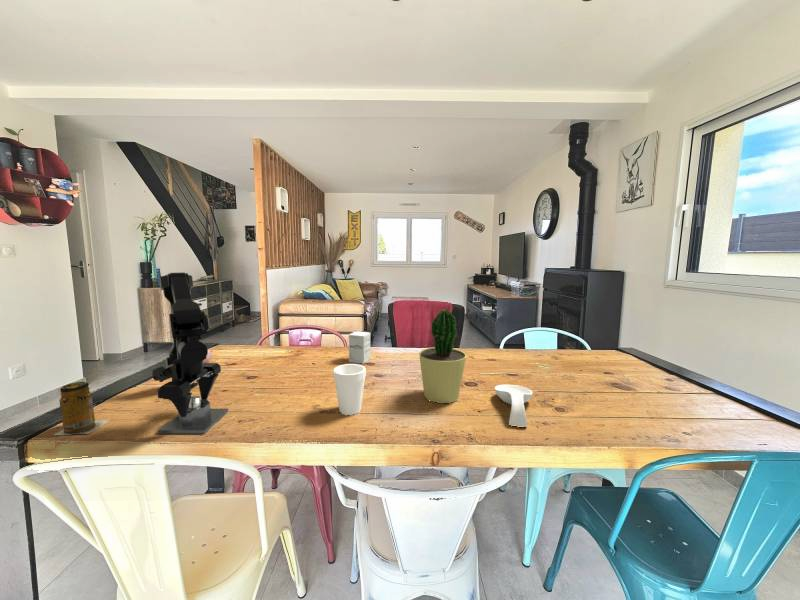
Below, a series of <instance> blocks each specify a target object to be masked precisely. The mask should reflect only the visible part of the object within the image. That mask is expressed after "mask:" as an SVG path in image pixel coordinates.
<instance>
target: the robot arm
mask: <svg viewBox="0 0 800 600" xmlns="http://www.w3.org/2000/svg"><path fill="white" fill-rule="evenodd" d="M159 287H160V291H162V292H163V296H164V298H165V299H166V300H167V302H169V307H170V308H169V309H170V313H169V314H168V317H169V318H168V319H169V321H168V322H169V327H170V334H171V339H172V343H171V344H172V345H171V346H170V348H169V349H168V350H167V351H168V353H167V354H168V356H167V357H166V358H165V359H166V366H162V365H161V366H159V367H156V368H153V369H152V374H151V375H152V379H153V380H154V381H156V382H157V381H158V382H159V383H163V382H164V381H166V380H170V379H171V381H167V382H166V383H164V384H163V385H160V386H159V387H158V388H157V390H156V396H157V398H158V399H163V400H169V401H170V402H171V403H172V404H173V405H174V407H175V409H176V410H177V412H179V414H180V416H181V417H186V415H187V412H188V408H189V403H190V399H191V397H192V394H193V393H192V392H191V390H192V389H193V388H195V387H196V386H198V389H199V394H200V399H207V400H208V398H209V396H210V393H211V392H212V388H213V386H214V385H215V383H216V380H217V378H218V377H219V373H221V372H222V370H221V367H222V366H221V364H219V363H218V362H209V363H203V360H204V359H206V356H207V354H208V350H209V348H208V347H207V345H206V344H205V343H204V341H203V340H202V335H207V334H208V331H209V330H210V328H209V327H210V325H209V322H208V317H207V314H206V313H205V311H204V310H202V309H201V306H200V304H199V303H198V302H196V301H194V300H193V298H192V292H191V290H192V289H193V288H194V281H193V275H191V274H188V272H185V271H184V272H169V273H167V274H166V275H161V276H160V277H159Z"/></svg>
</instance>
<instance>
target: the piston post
mask: <svg viewBox="0 0 800 600" xmlns="http://www.w3.org/2000/svg"><path fill="white" fill-rule="evenodd" d="M200 399H201V395H200V396H199V395H194V396H192V395H191V399H190V403H189V408H188V409H195V408H198V407H201V402H200ZM210 410H211V416H210V417H209V418H208V419H207V420H206V421H204V422H201V423H198V424H195V425H181V423H180V422H179V415H177V416H175V417H174V418H173V419H171V420H169V421H168V422H167V423H166V424H164V425H163V426H162V427H159V429H157V433H158V435H205V434H206V433H207V432H209V431H208V430H209V429H210V428H211V427H212V426H213V425H214V424H215V423H216V424H217V423H218V422H219V421H220V420H222V418H224V416H225V415H227V414H228V413H227V412H229V408H210ZM226 413H227V414H226ZM216 424H215V425H216ZM215 425H214V426H215ZM214 426H213V427H214ZM213 427H212V428H213ZM212 428H211V429H212ZM211 429H210V430H211Z"/></svg>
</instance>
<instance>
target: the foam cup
mask: <svg viewBox="0 0 800 600" xmlns="http://www.w3.org/2000/svg"><path fill="white" fill-rule="evenodd" d="M366 375H367V368H366V367H365V366H364V365H363V364H359V363H345V364H340V365H338V366H336V367H334V369H333V379H334V384H335V385H334V386H335V391H336V398H337V403H338V409H339V413H340V412H341V413H342V414H341V413H340V414H341V415H343V414H346V415H345V416H347V415H350V416H354V415H353V414H355V415H357V414H356V413H358V412H359V413H360V412H361V411H362V403H363V397H364V389H365V379H366ZM360 410H361V411H360ZM359 413H358V414H359Z"/></svg>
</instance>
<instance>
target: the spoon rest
mask: <svg viewBox="0 0 800 600" xmlns="http://www.w3.org/2000/svg"><path fill="white" fill-rule="evenodd" d="M494 392H495V393H496V395H497V396H498V398H500V399H501V400H502V401H503V402H504V403H505V402H506V403H505V404H507V403H508V405H510V404H511V407H510V413H509V420H508V426H509V425H516V426H523V427H527V428H528V422H527V414H526V410H525V408H526V407H525V403H527V402H528V401H529V400H530V399H531V398H532V396H533V391H532V390H531V389H529V388H527V387H525V386H522V385H517V384H499V385H498V384H497V385H496V386H495V387H494Z"/></svg>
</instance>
